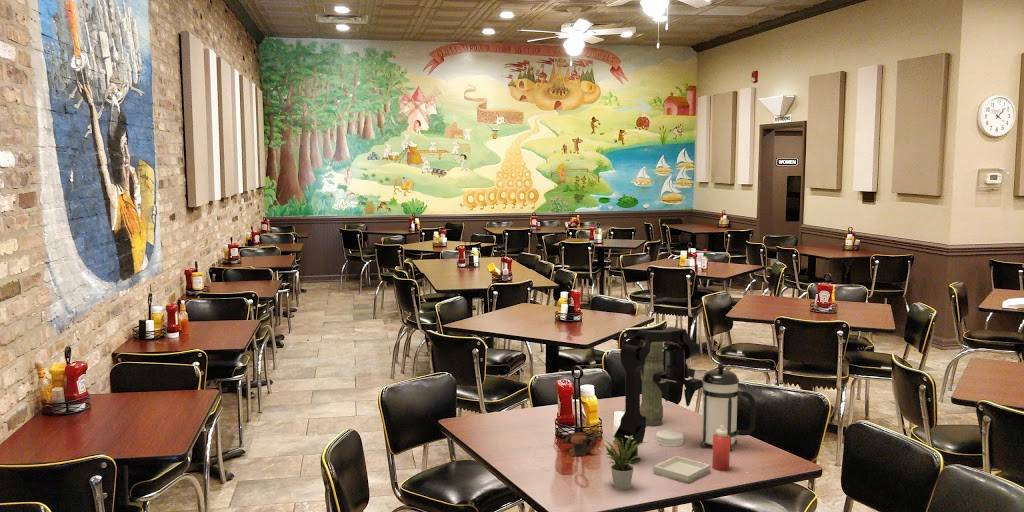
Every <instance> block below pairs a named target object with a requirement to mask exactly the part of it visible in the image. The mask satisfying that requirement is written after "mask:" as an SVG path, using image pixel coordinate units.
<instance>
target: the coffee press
mask: <svg viewBox="0 0 1024 512" xmlns="http://www.w3.org/2000/svg"><path fill="white" fill-rule="evenodd" d="M701 380H702V382H703V387H702V418H701V419H702V420H701V421H702V422H701V423H702V425H701V438H702V441H701V442H700V445H699V446H700V447H701V448H703V449H705V448H706V447H707V446H708V445H711V446H713V435H714V434H716V429H720V425H723V426H724V427H723V429H726V430H727V435H729V436H730V452H733V447H732V445H736V444H737V443H738V440H737V436H741V437H745V436H749V435H751V434H752V433H753V432H754V430H755V428H756V419H757V418H756V415H757V412H756V411H757V405H756V399H755V397H754V396H753V394H751V393H750V392H747V391H746V390H742V391H741V390H739V389H738V388H739V382H740V379H739V377H738V376H737V374H736V373H735V372H733V371H730V370H727V369H725V366H724V364H722V363H721V364H718V365H717V369H711V370H708V371H706V372H704V374H703V376H702V377H701ZM741 396H742V397H745V398H747V400H748V401H749V403H750V405H749V406H750V413H749V415H750V416H749V427H748V429H747V430H741V429H740V430H739V429H738V428H737V423H738V421H737V420H738V419H737V416H738V397H741Z"/></svg>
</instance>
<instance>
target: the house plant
mask: <svg viewBox="0 0 1024 512" xmlns="http://www.w3.org/2000/svg"><path fill="white" fill-rule="evenodd" d="M632 436H633V435H632ZM632 436H630V437H627V438H628V440H627V442H626V444H625V450H624V444H623V440H622V438H621V440H622V446H621V443H620V441H619V440H618V439H617V438H615V437H614V435H612V437H613V439H614V441H615V440H616V441H615V442H616V444H617V448H618V452H619V453H620V457H621V459H620V457H619V453H618V452H617V451H616V449H615V447H614V445H612V444H611V443H610V442H608V441H607V440H604V439H603V440H604V442H605V443H607V444H608V445H609V446H608V445H606V444H605V443H603V446H604V447H605V449H606V451H607V453H606V455H607V458H609V459H611V460H613V461H610V462H609V465H610V464H612V465H610V470H611V476H612V478H611V479H612V483H613V487H614V489H617V490H627V489H628V490H629V489H630V488H631V485H632V484H631V483H632V479H633V474H634V468H635V467H634V466H633V465H631V464H630V463H632V462H634V463H637V462H641V460H639V461H638V460H633V459H635V458H641V457H640V456H634V457H632V458H631V459H630V461H628V459H629V457H630V455H631V454H632V453H633V452H634V451H635V450H636V449H637V447H638V448H639V446H640V444H641V445H643V444H645V443H646V444H647V443H648V441H643V442H641V443H639V444H637V445H635V446H634V444H635V442H636V441H635V442H632V445H631V447H630V450H629V451H628V452H627V449H628V448H629V447H628V445H629V443H630V441H631V439H633V438H632ZM629 446H630V445H629ZM633 446H634V447H633ZM632 447H633V448H634V449H633V448H632ZM632 449H633V450H632ZM631 450H632V452H631ZM630 452H631V453H630ZM636 461H637V462H636ZM632 464H633V463H632Z"/></svg>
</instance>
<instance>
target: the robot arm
mask: <svg viewBox="0 0 1024 512" xmlns="http://www.w3.org/2000/svg"><path fill="white" fill-rule="evenodd" d="M687 331H688V330H687V329H685V328H680V327H674V326H668V327H665V328H664V329H663V330H662V329H661V330H646V329H645V330H644V329H640V330H638V331H637V332H636V333H635V335H634V336H632V337H630V338H628V339H627V340H626V342H625V343H624V344H623V345H622V347H621V348H620V353H619V356H620V363H621V365H622V368H623V369H624V372H625V375H624V376H625V384H624V385H625V388H624V389H625V390H624V391H625V395H624V396H625V397H624V398H625V399H624V400H625V405H624V406H625V408H624V410H625V411H624V413H623V415H622V416H621V418H620V423H619V427H617V430H616V432H615V433H614V434H613V436H614V437H615V438H617V439H618V440H619V441H620V443H621V446H622V440H623V444H624V450H625V444H626V442H627V440H628V438H629V437H630V436H632V435H633V436H632V438H631V441H630V443H629V445H630V446H629V445H628V447H629V448H628V449H627V452H628V451H629V450H630V447H631V445H632V442H635V441H636V442H635V444H634V446H635V445H637V444H639V443H641V442H644V439H645V433H646V429H647V426H646V417H645V416H642V415H641V413H640V405H641V374H640V371H641V369H642V368H643V366H644V364H645V358H646V357H647V355H648V354H649V352H650V344H651V343H652V342H662V343H665V342H666V343H669V344H668V346H667V347H665V348H666V349H665V351H667V353H668V364H667V369H668V372H667V371H666V372H662V371H661V372H658V373H655V374H654V375H653V376H652V381H653V382H656V383H655V384H656V385H657V386H658V387H659V389H660V391H661V392H662V397H663V398H664V400H665V402H669V399H670V394H669V393H670V388H669V387H670V383H674V384H679V385H682V386H684V389H683V392H684V398H685V405H686V407H690V406H691V405H690V404H691V402H692V399H693V396H694V394H695V392H696V391H699V390H700V389H703V382H702V379H698V378H695V374H696V369H694V368H690V367H689V366H688V364H687V363H686V360H688V359H689V360H690V359H691V358H695V357H697V356H698V355H699V354H700V351H701V350H700V346H699V345H698V343H697V342H696V339H694V338H691V337H690V335H689V334H688V332H687ZM641 342H645V345H644V346H643V345H642V346H638V345H639V344H641ZM670 343H671V344H670ZM689 378H690V379H689ZM614 437H613V438H614ZM621 438H622V440H621ZM614 441H615V442H616V440H615V439H614ZM640 445H642V444H640ZM640 445H639V446H640ZM634 446H633V447H634ZM639 446H638V447H637V449H636V450H635V451H634V452H633V453H632V454H631V455H630V457H629V459H628V461H630V459H631V458H632V457H634V456H638V455H639V454H638V451H639V450H638V449H639ZM633 447H632V448H633ZM633 449H634V448H633ZM633 449H632V450H633ZM632 450H631V452H632ZM631 452H630V453H631ZM618 455H619V457H620V453H618ZM620 459H621V457H620ZM633 460H638V461H636V462H632V463H630V464H629V465H631V464H632V465H633V464H634V463H637V462H639V461H641V460H642V458H641V457H640V458H635V459H633Z"/></svg>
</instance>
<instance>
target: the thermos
mask: <svg viewBox="0 0 1024 512" xmlns="http://www.w3.org/2000/svg"><path fill="white" fill-rule="evenodd" d="M663 343H664V342H652V343H651V344H650V352H649V354H648V355H647V357H646V358H645V364H644V366H643V368H642V369H641V371H640V381H641V402H640V413H641V415H642V416H645V417H646V427H652V428H653V427H660V426H662V425H663V418H664V407H663V394H662V392H661V391H660V389H659V387H658V386H657V385H656V384H655V383H656V382H653V381H652V376H653V375H654V374H655V373H658V372H661V371H662V372H667V369H668V368H667V365H668V351H665V349H666V348H667V347H666V346H664V345H663ZM644 345H645V342H643V343H642V347H643V346H644Z"/></svg>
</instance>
